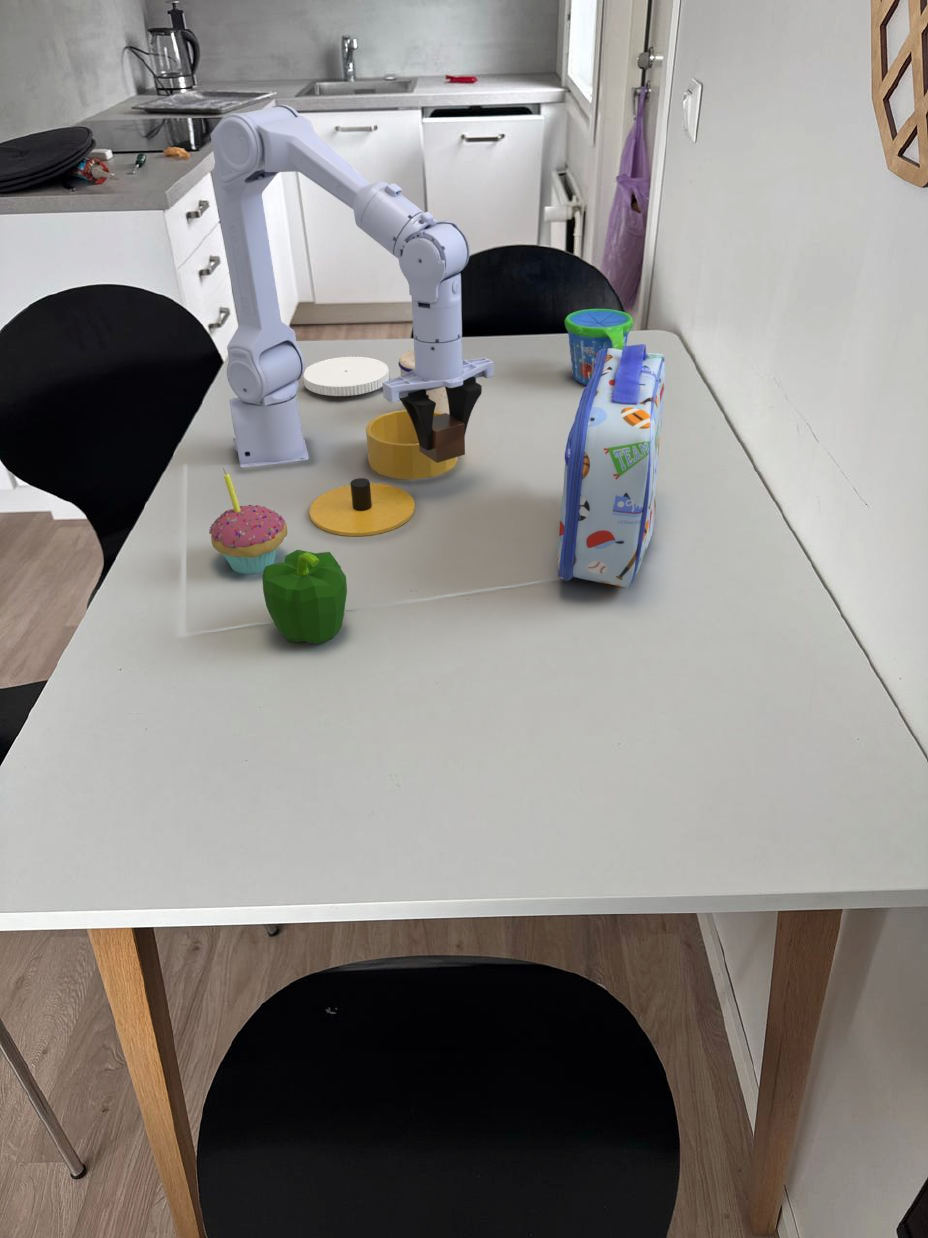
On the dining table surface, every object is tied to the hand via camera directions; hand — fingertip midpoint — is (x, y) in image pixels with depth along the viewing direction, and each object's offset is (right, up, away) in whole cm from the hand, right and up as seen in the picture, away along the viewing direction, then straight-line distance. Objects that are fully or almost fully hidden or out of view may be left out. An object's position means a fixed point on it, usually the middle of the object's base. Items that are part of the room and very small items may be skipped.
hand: (441, 442), depth 119 cm
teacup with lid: (-2, +10, +27) cm, 29 cm away
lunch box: (+20, -13, -7) cm, 25 cm away
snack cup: (+25, +17, +37) cm, 48 cm away
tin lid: (-10, -8, 0) cm, 13 cm away
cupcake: (-21, -16, -9) cm, 28 cm away
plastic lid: (-16, +16, +37) cm, 44 cm away
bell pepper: (-13, -24, -20) cm, 34 cm away
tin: (-4, 0, +12) cm, 13 cm away
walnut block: (0, -1, +1) cm, 1 cm away
